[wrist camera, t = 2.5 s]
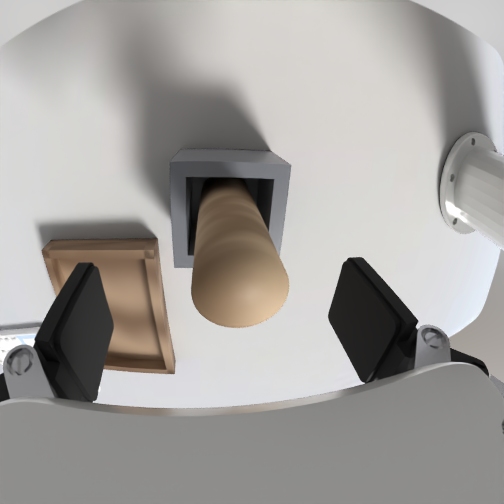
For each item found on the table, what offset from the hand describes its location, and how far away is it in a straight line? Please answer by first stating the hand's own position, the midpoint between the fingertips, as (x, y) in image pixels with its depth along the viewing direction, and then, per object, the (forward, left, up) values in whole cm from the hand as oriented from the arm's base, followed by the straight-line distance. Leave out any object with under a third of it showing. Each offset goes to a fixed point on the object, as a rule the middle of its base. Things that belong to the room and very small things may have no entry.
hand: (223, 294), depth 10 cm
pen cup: (-1, 0, -13) cm, 13 cm away
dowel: (-1, 0, -12) cm, 12 cm away
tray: (+10, +12, -13) cm, 20 cm away
